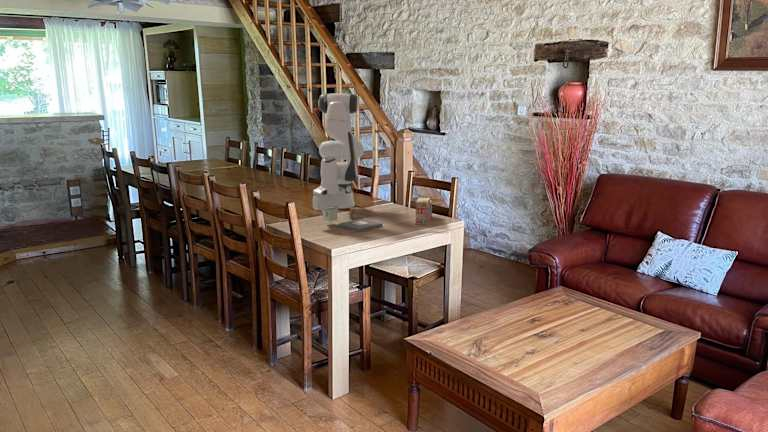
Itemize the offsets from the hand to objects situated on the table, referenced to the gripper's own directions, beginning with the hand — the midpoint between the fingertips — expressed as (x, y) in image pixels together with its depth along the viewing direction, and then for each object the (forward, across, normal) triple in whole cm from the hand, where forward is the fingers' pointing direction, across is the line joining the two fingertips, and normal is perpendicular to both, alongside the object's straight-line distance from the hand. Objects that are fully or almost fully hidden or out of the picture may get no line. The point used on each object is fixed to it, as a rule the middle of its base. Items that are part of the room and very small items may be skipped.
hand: (330, 215), depth 317 cm
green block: (+2, 0, 0) cm, 2 cm away
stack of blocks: (+5, -41, +29) cm, 50 cm away
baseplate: (+4, -8, +14) cm, 17 cm away
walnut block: (+5, -18, 0) cm, 18 cm away
